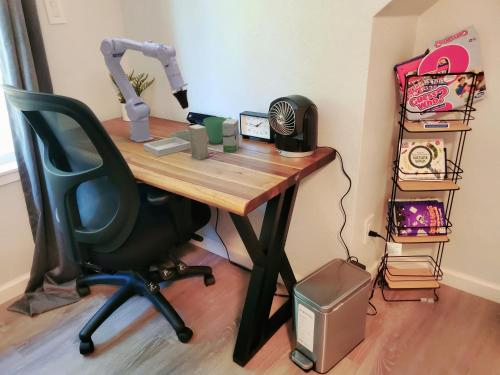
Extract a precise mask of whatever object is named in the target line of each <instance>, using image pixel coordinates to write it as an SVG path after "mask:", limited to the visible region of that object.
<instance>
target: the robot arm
mask: <svg viewBox="0 0 500 375" xmlns="http://www.w3.org/2000/svg"><path fill="white" fill-rule="evenodd" d="M127 50H129V51H130V50H131V51H136V52H141V53H142V55H144V56H145V57H148V58H153V59H156V60H158V61H159V62H160V63H161V66H162V67H163V69H164V73H165V74H166V77H167V81H168V83H169V86H170V89H171V91H175V92H174V93H172V96H173V97H174V98H175V99H176V101H177V102H178V104H179V105H180V107H181V109H183V110H185V109H188V108H189V100H188V89H187V88H186V89H183V88H184V87H186V86H188V83H185V82H184V78H183V77H182V74H181V71H180V68H179V65H178V62H177V58H176V56H177V51H176V49H175V47H174V46H172V45H170V44H167V45H164V43H161V42H159V43H156V42H153V40H147V41H144V42H139V41H136V40H133V39H129V38H125V37H124V38H123V37H117V38H103V39H102V40H101V42H100V47H99V51H100V52H101V54H102V56H103V58H104V62H105V66H106V67H107V69H108V71H109V73H110V75H111V76H112V78H113V81H114V82H115V84H116V86H117V87H118V89H119V91H120V94H121V95H122V97H123V98H124V100H125V105H124V110H125V111H126V116H127V119H129V120H130V122H129V124H128V125H129V134H130V137H128V139H130V140H132V141H134V142H136V143H142V142H143V143H144V142H148V141H151V140H154V139H155V137H152V136H151V131H150V123H149V116H150V115H151V108H150V106H149V104H147V103H146V102H145V100H144V98H142V97H139V96H138V94H137V93H136V90H135V88H134V87H133V85H132V83H131V81H130V79H129V78H128V75H127V74H126V72H125V71H124V68H123V66H122V64H121V60H122V59H123V57H124V55H125V53H126V51H127Z"/></svg>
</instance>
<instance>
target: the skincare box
mask: <svg viewBox="0 0 500 375" xmlns="http://www.w3.org/2000/svg"><path fill="white" fill-rule="evenodd" d="M188 131H189V134H190V140H189V142H190V143H191V148H190V151H191V156H192V157H193V158H195V159H197V160H199V161H200V160H204V159H206V158H209V148H208V146H209V145H208V135H207V132H206V127H205V125H201V124H194V125H188Z"/></svg>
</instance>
